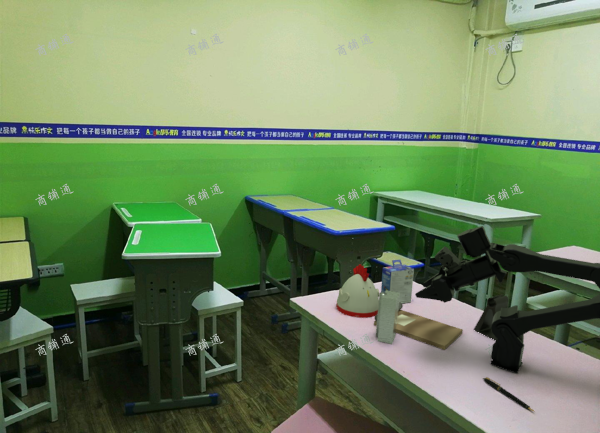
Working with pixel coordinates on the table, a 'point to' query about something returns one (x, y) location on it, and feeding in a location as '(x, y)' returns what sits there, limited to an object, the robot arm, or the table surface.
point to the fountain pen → (506, 393)
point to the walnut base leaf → (425, 329)
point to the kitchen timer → (358, 295)
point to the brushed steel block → (387, 316)
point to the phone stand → (490, 315)
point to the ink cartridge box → (398, 280)
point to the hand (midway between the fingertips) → (419, 290)
